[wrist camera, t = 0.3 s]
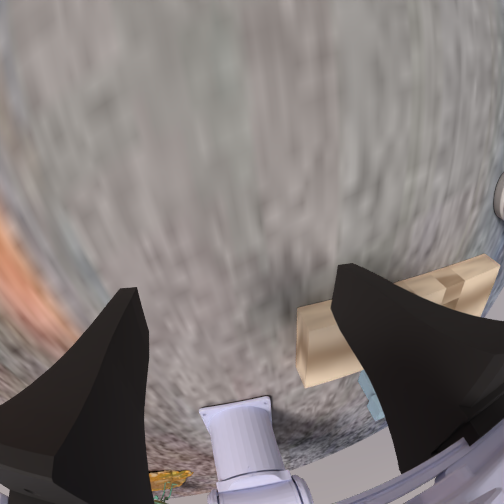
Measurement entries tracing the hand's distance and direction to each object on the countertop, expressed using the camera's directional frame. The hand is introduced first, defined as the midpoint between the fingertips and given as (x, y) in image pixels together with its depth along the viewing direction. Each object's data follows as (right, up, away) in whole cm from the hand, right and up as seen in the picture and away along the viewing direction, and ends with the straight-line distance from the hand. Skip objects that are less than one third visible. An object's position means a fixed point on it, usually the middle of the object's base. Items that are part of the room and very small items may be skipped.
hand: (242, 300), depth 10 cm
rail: (+17, -4, +18) cm, 25 cm away
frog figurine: (-18, -39, +29) cm, 52 cm away
